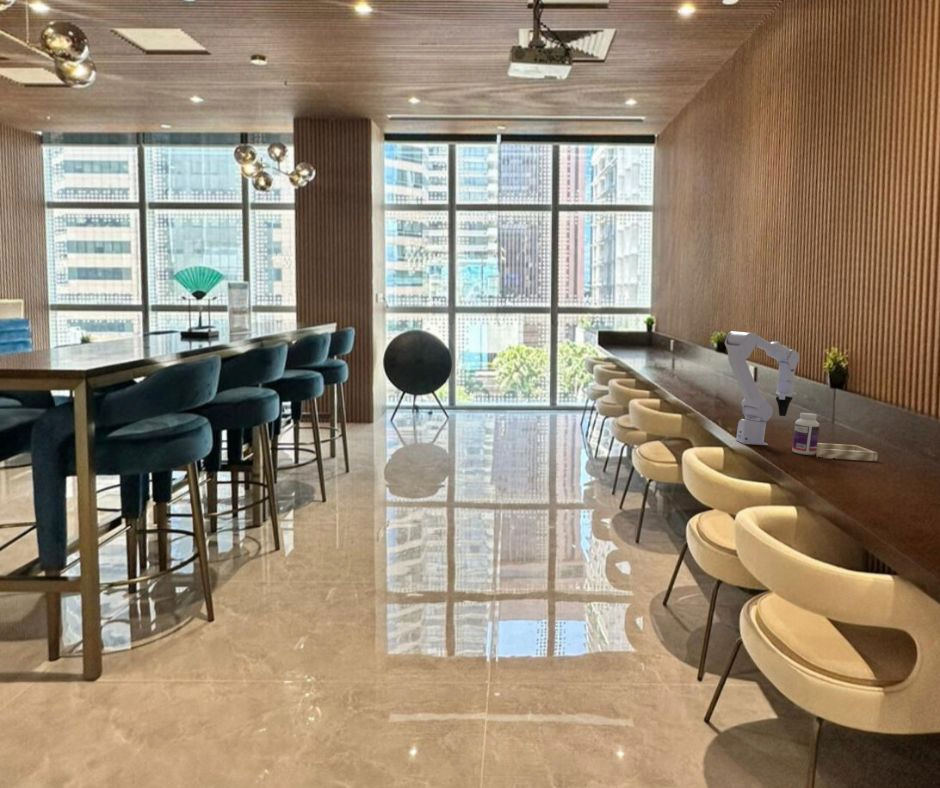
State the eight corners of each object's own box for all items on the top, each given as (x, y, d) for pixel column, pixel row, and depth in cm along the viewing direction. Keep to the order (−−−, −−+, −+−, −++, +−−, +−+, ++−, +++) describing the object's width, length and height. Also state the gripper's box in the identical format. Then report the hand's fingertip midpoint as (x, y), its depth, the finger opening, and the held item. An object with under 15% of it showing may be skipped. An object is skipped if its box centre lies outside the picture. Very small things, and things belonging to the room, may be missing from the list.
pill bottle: (811, 452, 285) (816, 413, 283) (818, 456, 277) (824, 416, 275) (788, 450, 286) (793, 411, 284) (795, 454, 278) (800, 414, 276)
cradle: (818, 457, 275) (819, 449, 275) (800, 449, 288) (801, 441, 288) (876, 461, 277) (877, 452, 277) (855, 453, 290) (857, 445, 289)
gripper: (794, 383, 290) (791, 419, 292) (799, 379, 302) (796, 414, 304) (774, 381, 293) (771, 417, 295) (779, 377, 306) (776, 412, 308)
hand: (782, 415), depth 300 cm, fingers closed
